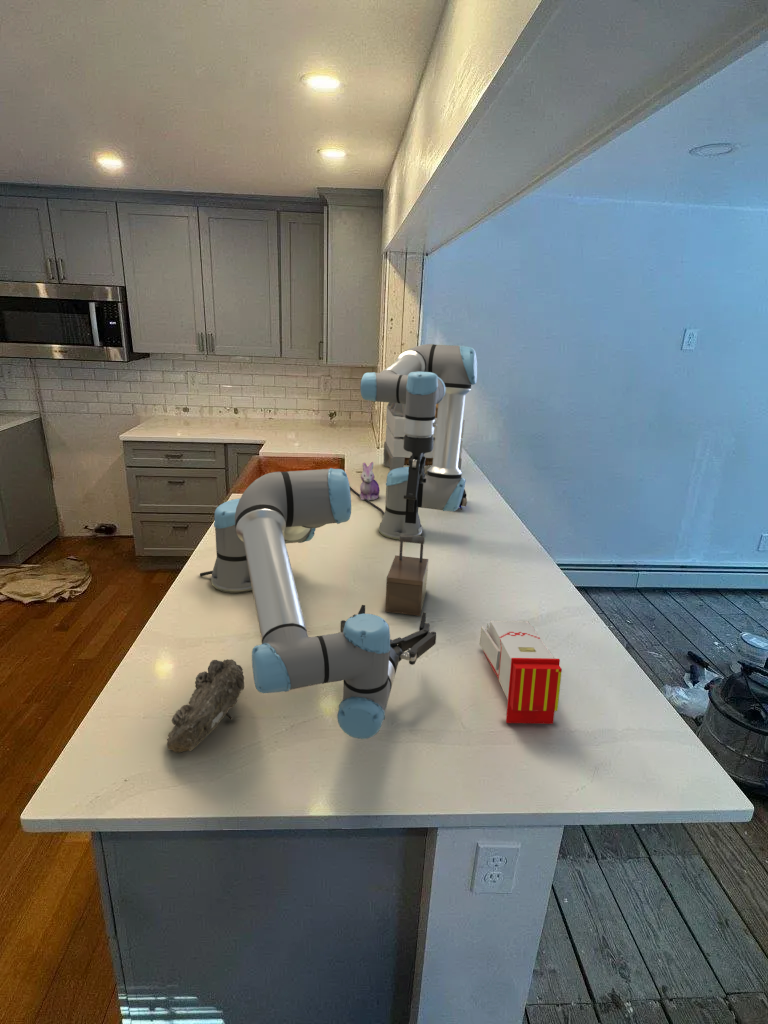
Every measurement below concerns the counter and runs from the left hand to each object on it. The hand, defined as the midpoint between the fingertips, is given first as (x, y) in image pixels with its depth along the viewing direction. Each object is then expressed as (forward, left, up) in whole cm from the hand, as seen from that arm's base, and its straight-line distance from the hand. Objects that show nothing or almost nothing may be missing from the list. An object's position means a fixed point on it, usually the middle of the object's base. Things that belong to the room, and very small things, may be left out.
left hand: (393, 613), depth 126 cm
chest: (0, +27, -11) cm, 29 cm away
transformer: (-11, +155, -11) cm, 156 cm away
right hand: (0, +31, +13) cm, 34 cm away
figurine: (-27, +111, -11) cm, 114 cm away
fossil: (-30, -28, -11) cm, 42 cm away
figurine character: (+9, +111, -11) cm, 111 cm away
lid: (0, +27, -2) cm, 27 cm away
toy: (+27, -3, -11) cm, 29 cm away
